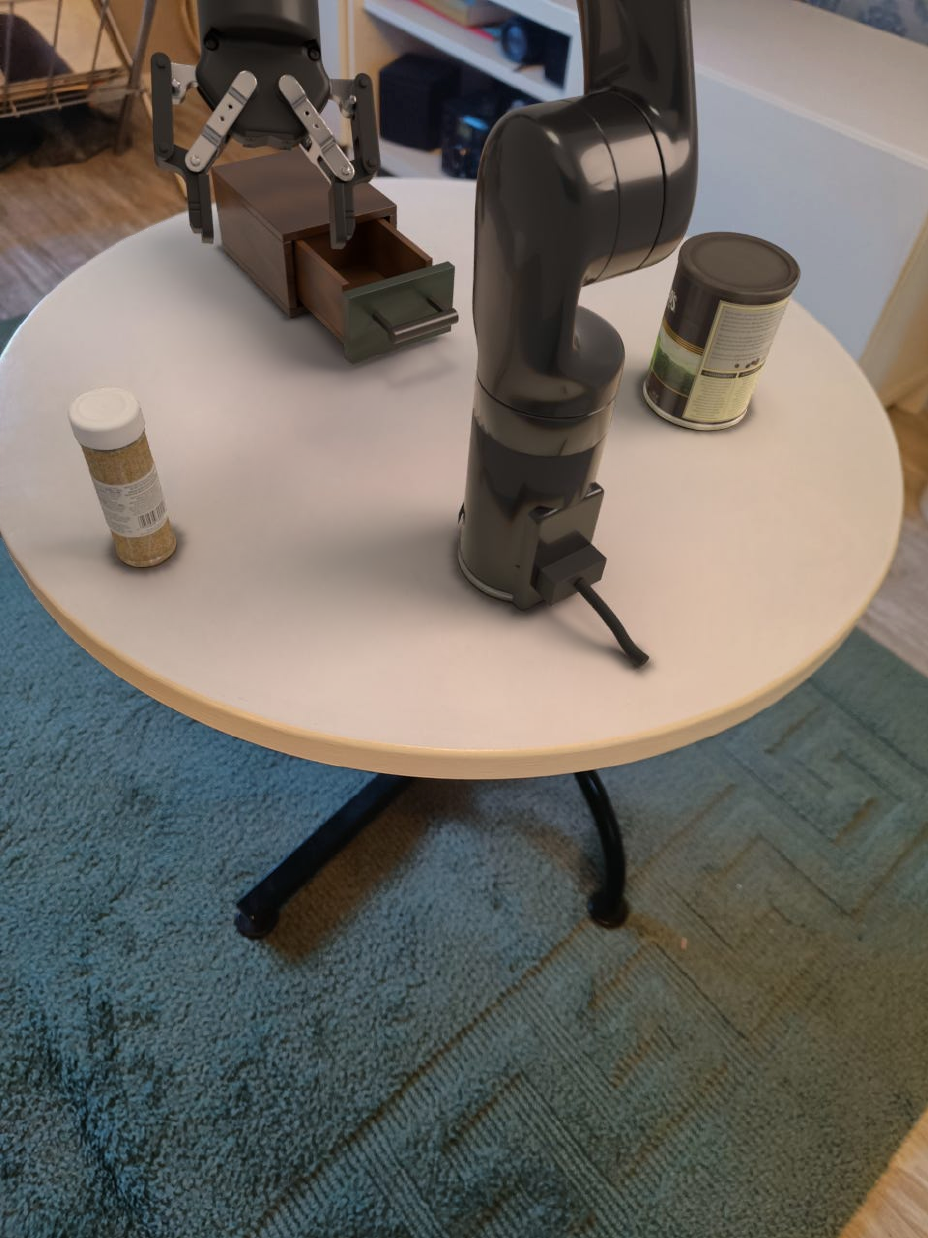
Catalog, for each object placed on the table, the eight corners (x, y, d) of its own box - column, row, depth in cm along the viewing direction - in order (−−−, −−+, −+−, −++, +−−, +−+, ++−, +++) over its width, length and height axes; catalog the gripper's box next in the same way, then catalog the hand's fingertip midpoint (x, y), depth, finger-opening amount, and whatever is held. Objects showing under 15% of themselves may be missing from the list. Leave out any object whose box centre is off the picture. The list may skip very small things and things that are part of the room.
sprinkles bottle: (160, 519, 69) (120, 376, 59) (188, 553, 67) (151, 411, 57) (105, 543, 67) (54, 399, 57) (132, 579, 65) (84, 436, 55)
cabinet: (396, 286, 94) (397, 204, 87) (290, 318, 88) (282, 233, 82) (324, 222, 101) (319, 143, 95) (222, 248, 96) (210, 166, 89)
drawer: (475, 352, 85) (481, 287, 80) (374, 387, 80) (373, 321, 75) (375, 265, 94) (374, 201, 89) (279, 292, 90) (272, 226, 84)
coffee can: (627, 409, 82) (664, 269, 72) (660, 355, 89) (698, 219, 78) (732, 445, 80) (786, 305, 69) (759, 387, 86) (812, 251, 75)
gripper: (131, -85, 49) (161, 224, 52) (380, -49, 53) (393, 234, 56) (137, -16, 56) (162, 253, 59) (356, 11, 60) (369, 260, 63)
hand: (275, 243), depth 57 cm, fingers open, 8 cm apart
